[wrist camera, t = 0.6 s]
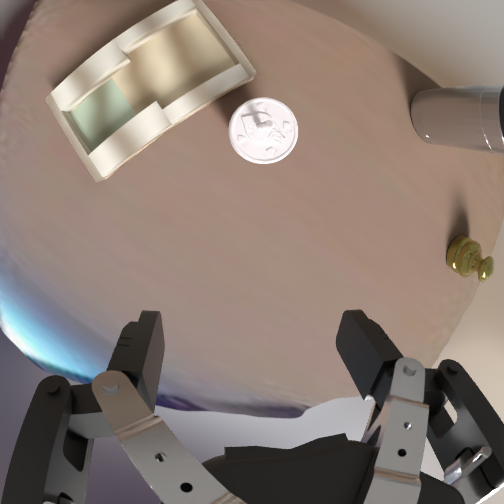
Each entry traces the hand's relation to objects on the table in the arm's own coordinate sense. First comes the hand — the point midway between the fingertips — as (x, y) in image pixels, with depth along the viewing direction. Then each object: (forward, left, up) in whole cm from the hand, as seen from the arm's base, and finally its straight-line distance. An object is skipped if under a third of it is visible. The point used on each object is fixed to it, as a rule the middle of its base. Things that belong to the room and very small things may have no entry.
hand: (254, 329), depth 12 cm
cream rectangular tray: (0, -19, -25) cm, 32 cm away
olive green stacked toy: (-33, +31, -26) cm, 52 cm away
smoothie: (-7, -6, -26) cm, 27 cm away
